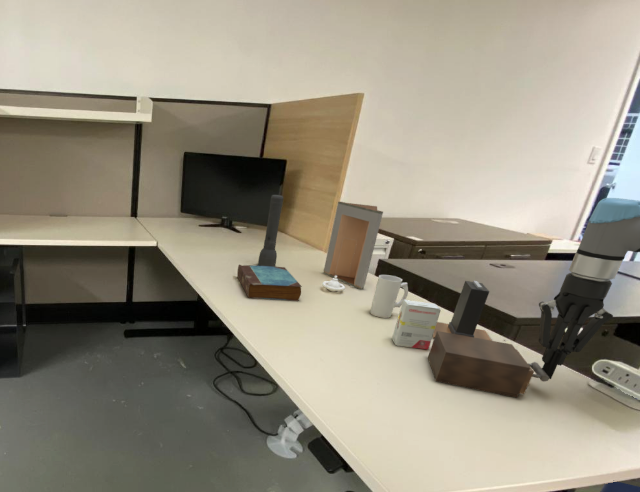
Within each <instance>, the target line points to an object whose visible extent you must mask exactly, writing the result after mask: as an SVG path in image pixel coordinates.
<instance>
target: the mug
mask: <svg viewBox="0 0 640 492" xmlns="http://www.w3.org/2000/svg"><path fill="white" fill-rule="evenodd" d="M401 288H402V290H403V296H402V297H401V299H399V301H397V298H398V295H399V292H400V289H401ZM408 295H409V286H408V282H403V278H401V277H398V276H396V275H389V274H379V275H378V278H377V281H376V286H375V289H374V293H373V298H372V302H371V306H370V313H369V314H371V315H372V316H375V317H378V318H383V319H388V318H391V317H392V315H393V311H394V309H395V308H401V306H402V303H403V300H407V297H408Z"/></svg>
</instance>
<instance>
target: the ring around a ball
mask: <svg viewBox="0 0 640 492" xmlns="http://www.w3.org/2000/svg"><path fill="white" fill-rule="evenodd" d="M334 277H335V278H333V277H331V278H332V279H331V280H325V281H322V283H321V286H322V287H323V288H325V289H328V291H329V292H332V293H333V292H340V291H344V290H345V289H346V286H345V285H344V284H343V283H342V282H341V283H340V282H339V280H338V279H337V276H336V275H335V276H334Z"/></svg>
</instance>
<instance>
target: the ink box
mask: <svg viewBox="0 0 640 492" xmlns="http://www.w3.org/2000/svg"><path fill="white" fill-rule="evenodd" d="M441 310H442V309H441V308H440V307H439V306H438V305H437V304H436V303H433V302H424V301H419V300H418V301H417V300H409V299H405V300H403V303H402V305H401V307H400V309H399V313H398V316H397V320H396V322H395V326H394V330H393V334H392V337H391V339H392V341H393V343H394V345H395V346H398V347H404V348H405V347H406V348H413V349H421V350H429V349H430V346H431V343H432V340H433V337H432V336H433V333H434V330H435V327H436V324H437V322H439V321H438V320H439V317H440V314H441V312H442V311H441Z"/></svg>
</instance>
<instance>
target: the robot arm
mask: <svg viewBox="0 0 640 492" xmlns="http://www.w3.org/2000/svg"><path fill="white" fill-rule="evenodd" d="M587 221H588V223H587V225H586V228H585V230H584V232H583V236H582V238H581V240H580V243H579V244H578V248H577V250H576V252H575V254H574V256H573V259H572V261H571V264H570V265H569V268H568V271H569V273H567V274H565V277H564V279H563V282H562V285H561V287H560V289H559V292H558V293H557V294H556V295H555V296H554V298H553V299H552V300H548V301H540V302H539V303H538V307H539V309H540V322H539V332H538V342H539V344H540V345H541V346H542V347H544V348H545V350H544V352H543V354H542V356H541V361H542V363H543V365H542V367H541V368H542V369H543V370H544V371H545V373H546V374H547V375H548V376H549V380H552V378H553V376H554V374H555V371H556V369H557V367H558V366H562V365H563V364H564V362H565V360H566V358H567V356H568V355H571V354H572V353H574V352H575V353H579V352H581V351H582V350H583V349H584V347H586V345H587V344H588V343H589V342H590V341H591V339H592V338H593V337H594V335H596V333H597V332H598V331H599V330H600V329H601V327H602V326H603V325H604V324H606V323H607V322H609V321H610V320H612V319H613V318H614V315H613V314H612V313H611V312H609V311H608V310H606V309H605V308H604V306H605V304H604V300H605V299H606V297H607V295H608V293H609V291H610V289H611V287H612V285H613V282H612V280H614V279H616V277H617V274H618V272H619V270H620V268H621V266H622V263H623V262H624V259H625V257H626V254H627V253H628V252H633V253H640V200H636V199H630V198H629V199H628V198H619V197H606V198H602V199H601V200H599V201H598V203H597V204H596V206H595V208H594V210H593V212H592V214H591V216H590V218H589V219H588V220H587ZM555 308H556V310H557V313H558V314H557V316H556V317H557V319H556V321H555V324H554V326H553V329H551V328H552V318H553V314H552V312H553V311H554V310H555ZM593 315H594V316H593ZM592 316H593V317H592ZM590 317H591V319H590V320H589V321H588V322H587V324H586V325H585V323H586V321H587V319H589V318H590ZM584 325H585V326H584ZM582 326H584V327H583V328H582ZM551 330H552V331H551Z"/></svg>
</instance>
